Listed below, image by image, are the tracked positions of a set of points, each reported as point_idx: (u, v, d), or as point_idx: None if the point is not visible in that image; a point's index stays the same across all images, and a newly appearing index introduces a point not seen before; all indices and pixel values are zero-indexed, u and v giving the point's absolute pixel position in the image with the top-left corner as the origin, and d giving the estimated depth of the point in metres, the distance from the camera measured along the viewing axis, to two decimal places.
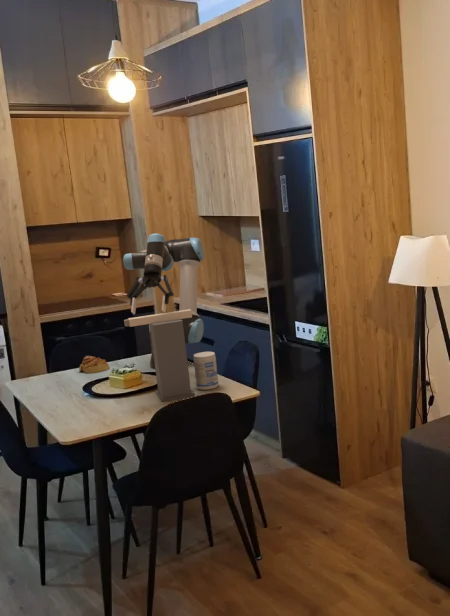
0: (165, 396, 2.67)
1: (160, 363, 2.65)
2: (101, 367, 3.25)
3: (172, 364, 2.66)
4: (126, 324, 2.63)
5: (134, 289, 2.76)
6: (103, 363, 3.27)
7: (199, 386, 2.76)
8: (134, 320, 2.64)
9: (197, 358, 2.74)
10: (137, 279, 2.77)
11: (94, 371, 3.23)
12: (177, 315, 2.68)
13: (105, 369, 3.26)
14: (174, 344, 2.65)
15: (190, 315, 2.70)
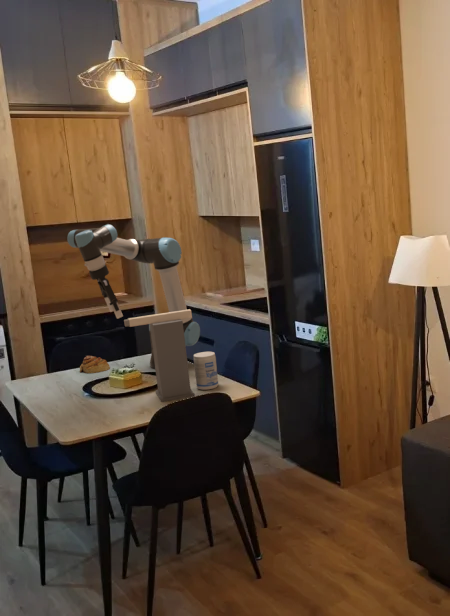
0: (165, 396, 2.67)
1: (160, 363, 2.65)
2: (101, 367, 3.25)
3: (172, 364, 2.66)
4: (126, 324, 2.63)
5: None
6: (104, 363, 3.27)
7: (199, 386, 2.76)
8: (134, 320, 2.64)
9: (197, 358, 2.74)
10: (97, 280, 2.71)
11: (95, 371, 3.24)
12: (177, 315, 2.68)
13: (106, 369, 3.26)
14: (174, 344, 2.65)
15: (190, 315, 2.70)
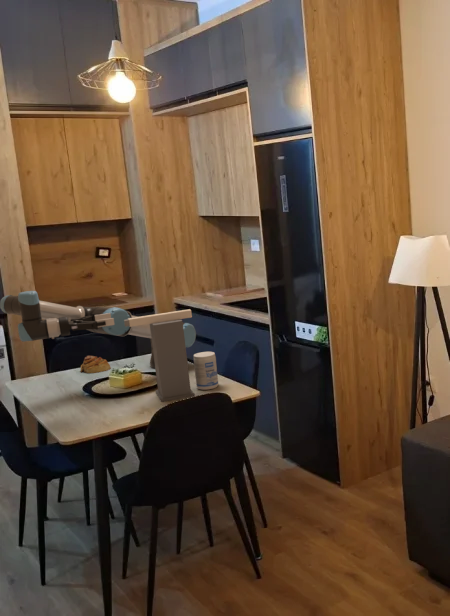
0: (165, 396, 2.67)
1: (160, 363, 2.65)
2: (102, 367, 3.25)
3: (172, 364, 2.66)
4: (126, 324, 2.63)
5: None
6: (104, 363, 3.27)
7: (199, 386, 2.76)
8: (134, 320, 2.64)
9: (197, 358, 2.74)
10: None
11: (95, 371, 3.24)
12: (177, 315, 2.68)
13: (106, 369, 3.26)
14: (174, 344, 2.65)
15: (190, 315, 2.70)
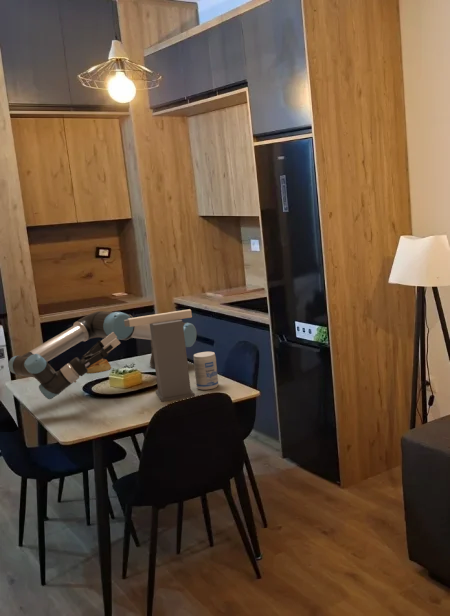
0: (165, 396, 2.67)
1: (160, 363, 2.65)
2: (103, 367, 3.25)
3: (172, 364, 2.66)
4: (126, 324, 2.63)
5: None
6: (105, 363, 3.27)
7: (199, 386, 2.76)
8: (134, 320, 2.64)
9: (197, 358, 2.74)
10: None
11: (96, 371, 3.24)
12: (177, 315, 2.68)
13: (107, 369, 3.26)
14: (174, 344, 2.65)
15: (190, 315, 2.70)
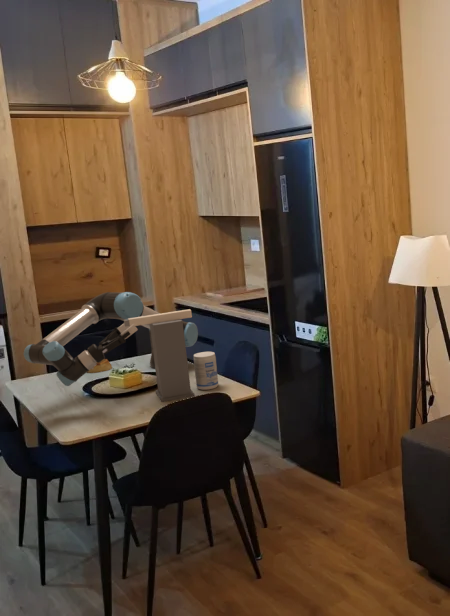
0: (165, 396, 2.67)
1: (160, 363, 2.65)
2: (104, 366, 3.25)
3: (172, 364, 2.66)
4: (126, 324, 2.63)
5: None
6: (106, 363, 3.27)
7: (199, 386, 2.76)
8: (134, 320, 2.64)
9: (197, 358, 2.74)
10: None
11: (97, 371, 3.24)
12: (177, 315, 2.68)
13: (108, 369, 3.26)
14: (174, 344, 2.65)
15: (190, 315, 2.70)
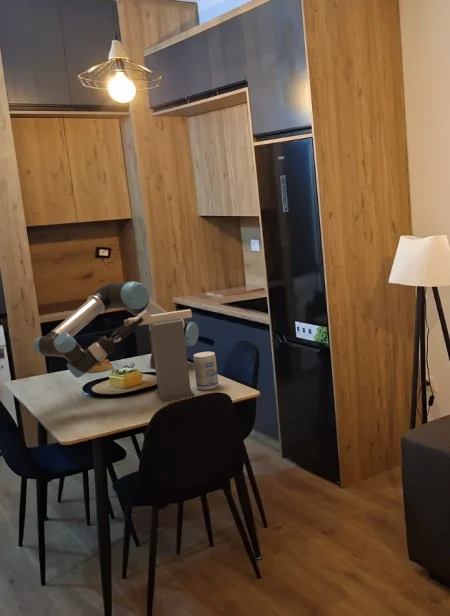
0: (165, 396, 2.67)
1: (160, 363, 2.65)
2: (105, 366, 3.25)
3: (172, 364, 2.66)
4: (126, 324, 2.63)
5: None
6: (107, 362, 3.27)
7: (199, 386, 2.76)
8: None
9: (197, 358, 2.74)
10: None
11: (98, 370, 3.24)
12: (177, 315, 2.68)
13: (109, 368, 3.26)
14: (174, 344, 2.65)
15: (190, 315, 2.70)
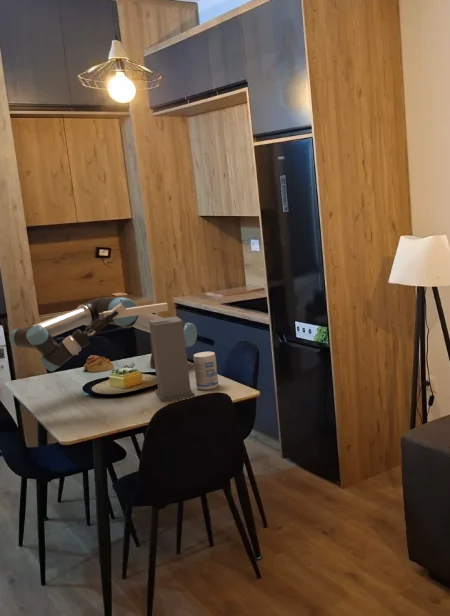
0: (165, 396, 2.67)
1: (160, 363, 2.65)
2: (105, 366, 3.25)
3: (172, 364, 2.66)
4: (101, 317, 2.60)
5: None
6: (107, 362, 3.27)
7: (199, 386, 2.76)
8: None
9: (197, 358, 2.74)
10: None
11: (99, 370, 3.24)
12: (153, 308, 2.65)
13: (109, 368, 3.26)
14: (174, 344, 2.65)
15: (166, 308, 2.67)
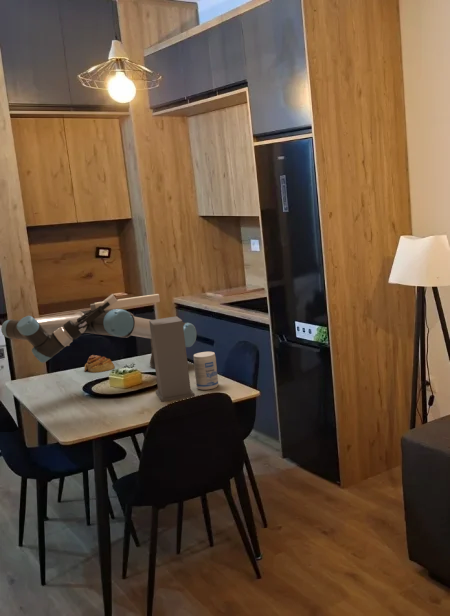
0: (165, 396, 2.67)
1: (160, 363, 2.65)
2: (106, 366, 3.26)
3: (172, 364, 2.66)
4: (92, 308, 2.59)
5: None
6: (108, 362, 3.28)
7: (199, 386, 2.76)
8: (100, 304, 2.59)
9: (197, 358, 2.74)
10: None
11: (99, 370, 3.24)
12: (144, 300, 2.64)
13: (110, 368, 3.26)
14: (174, 344, 2.65)
15: (158, 300, 2.65)
